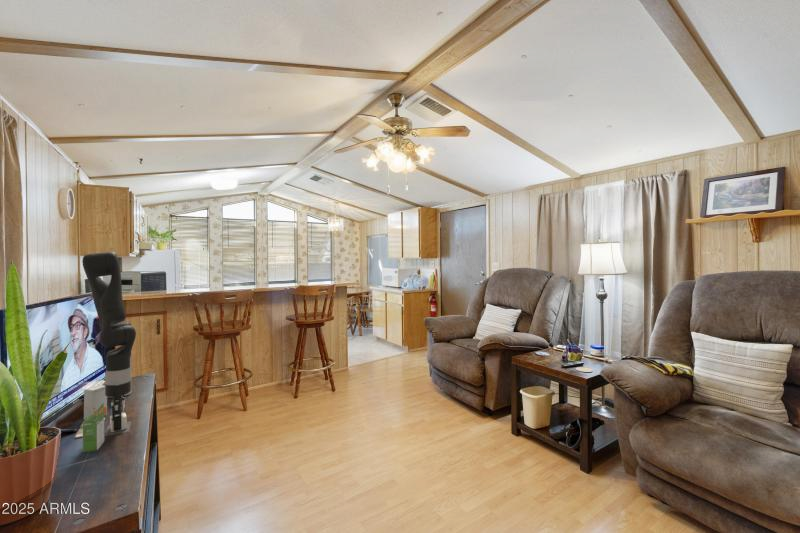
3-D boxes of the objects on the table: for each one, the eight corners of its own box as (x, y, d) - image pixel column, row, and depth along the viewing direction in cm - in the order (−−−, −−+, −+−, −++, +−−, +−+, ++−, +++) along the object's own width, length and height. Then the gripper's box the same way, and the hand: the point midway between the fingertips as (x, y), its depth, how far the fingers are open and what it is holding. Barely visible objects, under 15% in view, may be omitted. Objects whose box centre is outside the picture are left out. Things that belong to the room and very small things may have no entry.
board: (82, 423, 140) (82, 421, 140) (105, 419, 143) (105, 417, 143) (74, 439, 127) (74, 437, 127) (100, 434, 131) (100, 432, 131)
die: (110, 428, 135) (110, 415, 135) (125, 424, 138) (125, 412, 138) (111, 432, 132) (111, 419, 132) (126, 428, 135) (126, 416, 135)
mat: (108, 426, 137) (108, 425, 137) (131, 422, 141) (131, 421, 141) (104, 437, 129) (104, 436, 129) (129, 432, 133) (129, 431, 133)
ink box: (90, 443, 124) (90, 404, 124) (104, 441, 126) (104, 402, 126) (82, 453, 118) (81, 411, 118) (97, 451, 120) (97, 409, 119)
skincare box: (92, 421, 141) (92, 390, 141) (83, 420, 142) (83, 389, 142) (107, 415, 147) (107, 385, 147) (99, 414, 148) (99, 384, 148)
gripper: (107, 377, 139) (107, 422, 139) (102, 388, 127) (102, 437, 127) (132, 374, 143) (132, 417, 143) (129, 384, 131) (129, 432, 131)
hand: (118, 427), depth 135 cm, fingers closed on die, 5 cm apart
